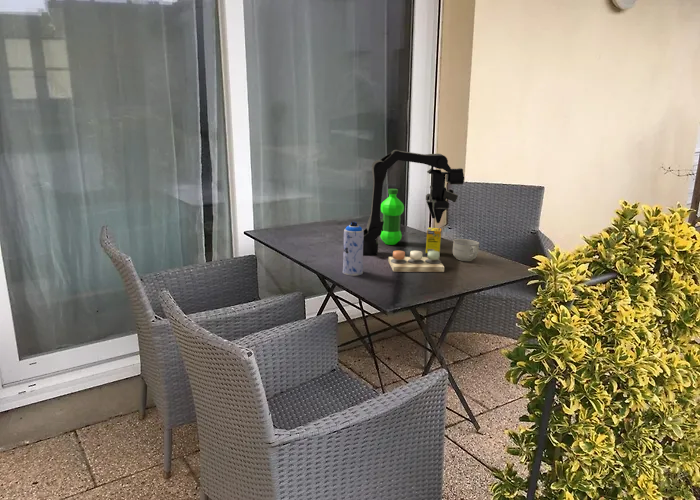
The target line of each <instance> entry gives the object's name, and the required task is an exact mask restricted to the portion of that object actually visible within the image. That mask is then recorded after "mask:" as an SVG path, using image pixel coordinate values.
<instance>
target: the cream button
mask: <svg viewBox="0 0 700 500" xmlns="http://www.w3.org/2000/svg"><path fill="white" fill-rule="evenodd" d="M409 257H410V258H411V259H415V260H419V259H422V257H423V251H421V250H410V252H409Z"/></svg>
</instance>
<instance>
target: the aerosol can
mask: <svg viewBox="0 0 700 500" xmlns="http://www.w3.org/2000/svg"><path fill="white" fill-rule="evenodd" d="M363 238H364V229H363V227H361V226H360V225H359V224H358V222H357V221H355V220H351V222H350V224H349V225H347V226H346V227H345V228H344V230H343V256H342V257H343V258H342V259H343V261H342V274H343V275H346V276H352V277H353V276H356V277H357V276H360V275H363V273H364V271H363V267H364V265H363V262H364V255H363Z"/></svg>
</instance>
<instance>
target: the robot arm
mask: <svg viewBox="0 0 700 500" xmlns="http://www.w3.org/2000/svg"><path fill="white" fill-rule="evenodd" d="M398 161H402V162H408V163H409V162H410V163H415V164H416V163H417V164H421V165H422V164H423V165H426V166H427V165H428V166H430V168H429V170H427V171H426V172H427V173H428V175H431V185H429V189H430V193H427V194H426V195H425V201H426V204H427V207H428V210H429V213H430V216H431V218H432V219H435V222H436V224H440V222H441V220H442V217H443V214H444V212H445V211H447V210H448V209H449V208H450V202H449V201H451V202H453V203H456V202H457V200H458V197H459V195H458V194H456V193H454V190H453V189H451V188H448V189H447V187H446V183H448V185H451V186H452V185H453V186H454V185H455V186H457V185H458V186H459V185H461V186H462V185H464V182H465V177H464V175H465V174H464V169H463V168H461V167H459V168H452V167H450V165H449V163H448V161H449V160H448V158H447V156H445V155H444V154H441V153H428V154H426V153H425V154H423V153H417V152H409V151H403V150H399V149H394V150H392V151H391V152H390V153H388V154H387V155H385V156H384V157H381V158H380V159H377V160H375V161H373V162H372V163H371V171H372V172H371V173H372V181H373V182H372V183H373V185H372V196H371V206H370V207H371V208H370V215H369V218H368V220H367V223H366V227H365V229H363V231H364V238H363V256H377V255H378V250H379V249H378V247H379V246H378V245H379V243H378V240H377V239H378V238H379V237H380V235H381V232H382V231H383V224H384V221H383V218H381V204H382V196H383V187H384V181H385V179H386V176H387V173H388V170H389V169H390V168H392V166H393V165H395V164H396V163H397V162H398ZM435 168H436V169H435ZM442 170H443V171H442ZM447 200H449V201H447Z"/></svg>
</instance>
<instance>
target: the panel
mask: <svg viewBox="0 0 700 500" xmlns="http://www.w3.org/2000/svg"><path fill="white" fill-rule="evenodd" d="M388 263H389V266H390V267H391V269H392V272H395V273H398V272H400V273H402V272H403V273H407V272H408V273H411V272H413V273H415V272H416V273H419V272H420V273H421V272H422V273H423V272H424V273H444V272H445V266H444V264H443V263H442V260H440V258H439V259H437V260H432V259H428V258H427V256H422V259H419V260H415V259H411V258H410V256H405V259H401V260H398V259H394V258H393V256H388Z"/></svg>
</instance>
